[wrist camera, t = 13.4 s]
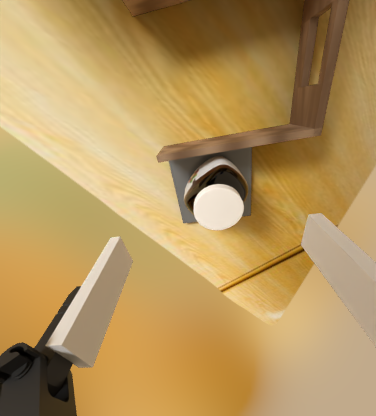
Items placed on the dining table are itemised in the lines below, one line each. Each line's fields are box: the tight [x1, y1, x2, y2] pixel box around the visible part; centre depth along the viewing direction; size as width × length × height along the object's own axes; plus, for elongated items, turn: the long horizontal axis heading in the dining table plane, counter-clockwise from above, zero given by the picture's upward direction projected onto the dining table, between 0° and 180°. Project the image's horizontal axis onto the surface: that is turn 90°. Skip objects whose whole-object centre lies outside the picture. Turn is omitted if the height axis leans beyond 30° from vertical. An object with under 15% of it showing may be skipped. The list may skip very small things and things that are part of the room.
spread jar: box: [184, 156, 248, 230], centre depth 29 cm, size 12×11×12 cm
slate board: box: [169, 147, 252, 223], centre depth 35 cm, size 15×15×1 cm
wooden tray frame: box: [122, 0, 349, 162], centre depth 23 cm, size 23×19×7 cm
